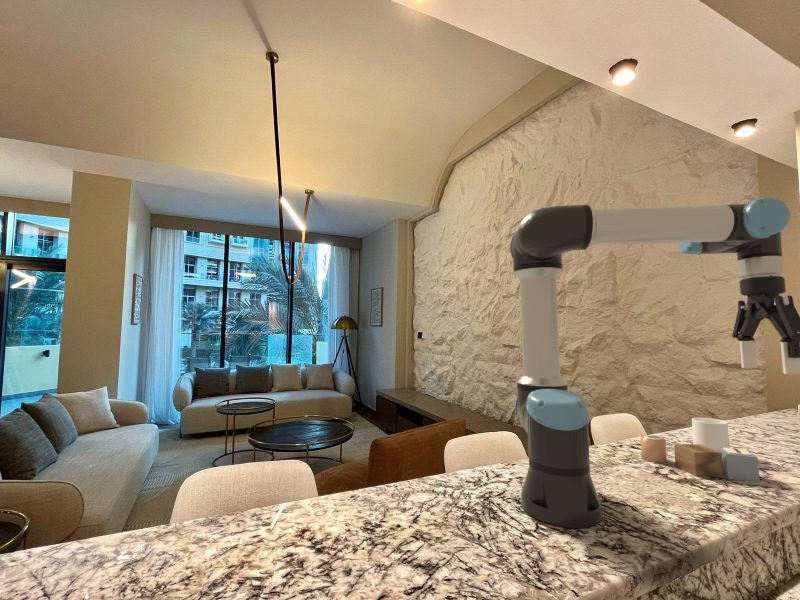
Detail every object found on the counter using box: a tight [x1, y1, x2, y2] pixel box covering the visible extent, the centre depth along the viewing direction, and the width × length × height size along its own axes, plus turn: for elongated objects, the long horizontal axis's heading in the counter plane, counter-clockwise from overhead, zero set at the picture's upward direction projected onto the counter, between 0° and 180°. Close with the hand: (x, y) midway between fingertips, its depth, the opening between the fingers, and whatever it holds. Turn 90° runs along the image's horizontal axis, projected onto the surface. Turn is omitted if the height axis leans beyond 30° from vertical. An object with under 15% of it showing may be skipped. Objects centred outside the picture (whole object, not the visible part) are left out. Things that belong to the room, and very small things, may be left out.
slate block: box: [718, 447, 761, 483], centre depth 95 cm, size 6×6×6 cm
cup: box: [691, 417, 731, 451], centre depth 112 cm, size 8×12×10 cm
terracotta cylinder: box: [640, 434, 668, 464], centre depth 108 cm, size 6×6×6 cm
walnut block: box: [673, 443, 724, 478], centre depth 99 cm, size 7×7×6 cm
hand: (769, 370), depth 85 cm, fingers open, 13 cm apart
